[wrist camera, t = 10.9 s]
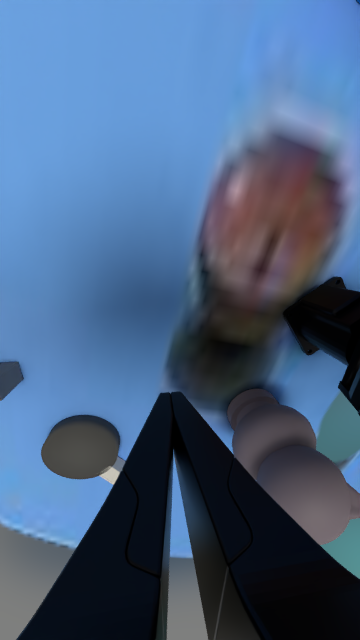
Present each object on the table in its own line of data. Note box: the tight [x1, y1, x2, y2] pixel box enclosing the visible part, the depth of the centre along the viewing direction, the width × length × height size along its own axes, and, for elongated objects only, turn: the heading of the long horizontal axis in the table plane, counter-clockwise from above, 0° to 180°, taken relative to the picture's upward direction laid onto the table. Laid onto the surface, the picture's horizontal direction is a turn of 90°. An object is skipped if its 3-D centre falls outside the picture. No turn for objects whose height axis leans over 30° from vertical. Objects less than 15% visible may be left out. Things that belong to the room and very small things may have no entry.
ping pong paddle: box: [41, 415, 125, 485], centre depth 23 cm, size 10×8×2 cm
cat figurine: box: [227, 389, 360, 545], centre depth 19 cm, size 8×8×12 cm
